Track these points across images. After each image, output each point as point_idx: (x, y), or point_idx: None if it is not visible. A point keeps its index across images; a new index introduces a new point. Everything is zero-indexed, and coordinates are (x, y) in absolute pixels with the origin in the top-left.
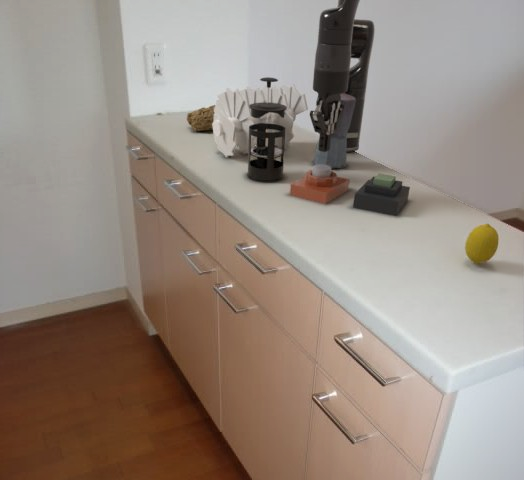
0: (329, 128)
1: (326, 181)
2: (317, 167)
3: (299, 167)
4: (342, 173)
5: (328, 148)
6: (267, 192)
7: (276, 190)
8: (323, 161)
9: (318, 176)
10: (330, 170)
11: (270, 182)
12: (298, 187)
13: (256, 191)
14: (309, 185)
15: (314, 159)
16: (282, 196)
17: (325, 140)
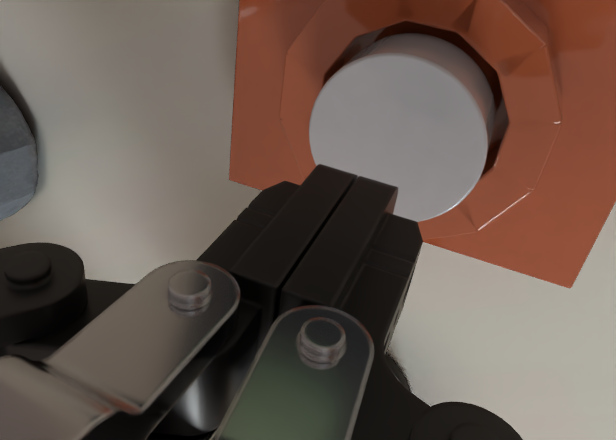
0: (286, 395)
1: (541, 33)
2: (427, 180)
3: (102, 260)
4: (24, 25)
5: (348, 184)
6: (561, 362)
7: (504, 323)
8: (10, 168)
9: (493, 129)
10: (408, 49)
11: (393, 361)
12: (599, 228)
13: (565, 411)
14: (557, 160)
15: (4, 217)
16: (608, 281)
17: (376, 292)
